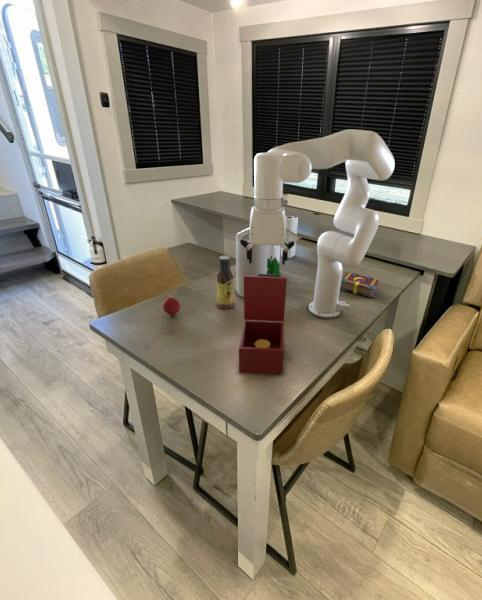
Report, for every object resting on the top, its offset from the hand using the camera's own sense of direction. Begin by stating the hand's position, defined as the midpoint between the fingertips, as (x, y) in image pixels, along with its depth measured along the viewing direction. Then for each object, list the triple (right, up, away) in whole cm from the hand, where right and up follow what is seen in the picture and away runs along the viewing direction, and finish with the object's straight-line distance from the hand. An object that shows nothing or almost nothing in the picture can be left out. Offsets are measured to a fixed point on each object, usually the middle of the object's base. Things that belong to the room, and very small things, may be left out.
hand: (267, 262), depth 97 cm
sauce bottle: (-18, -13, +33) cm, 40 cm away
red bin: (-2, -29, +6) cm, 30 cm away
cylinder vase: (-9, -8, +43) cm, 45 cm away
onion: (-36, -17, +24) cm, 46 cm away
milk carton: (-3, +1, +60) cm, 60 cm away
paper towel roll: (+6, +12, +82) cm, 83 cm away
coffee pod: (-2, -28, +6) cm, 29 cm away
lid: (-1, -11, +4) cm, 12 cm away
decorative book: (+38, -6, +52) cm, 65 cm away
